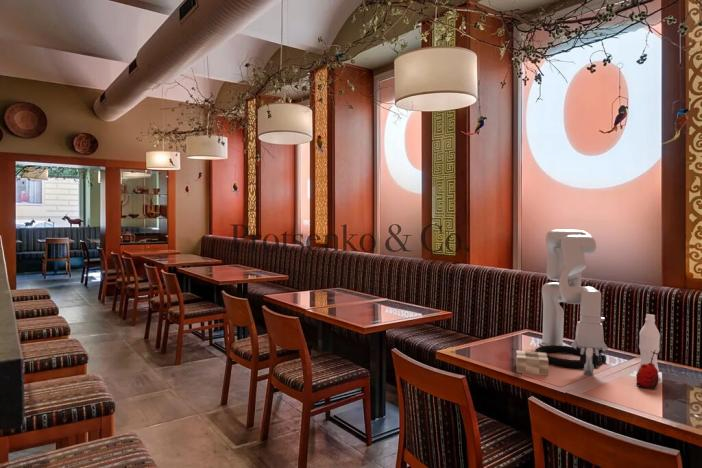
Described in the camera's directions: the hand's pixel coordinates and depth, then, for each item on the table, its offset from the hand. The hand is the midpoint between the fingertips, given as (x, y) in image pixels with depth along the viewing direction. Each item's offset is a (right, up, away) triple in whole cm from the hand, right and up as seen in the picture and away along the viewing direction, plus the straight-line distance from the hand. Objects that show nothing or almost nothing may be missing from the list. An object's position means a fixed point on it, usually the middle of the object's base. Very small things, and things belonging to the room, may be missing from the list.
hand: (588, 363), depth 196 cm
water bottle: (+24, -5, -1) cm, 24 cm away
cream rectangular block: (-22, -4, +5) cm, 22 cm away
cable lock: (+1, -4, +20) cm, 20 cm away
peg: (0, -4, 0) cm, 4 cm away
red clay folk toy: (+15, -5, -14) cm, 22 cm away
